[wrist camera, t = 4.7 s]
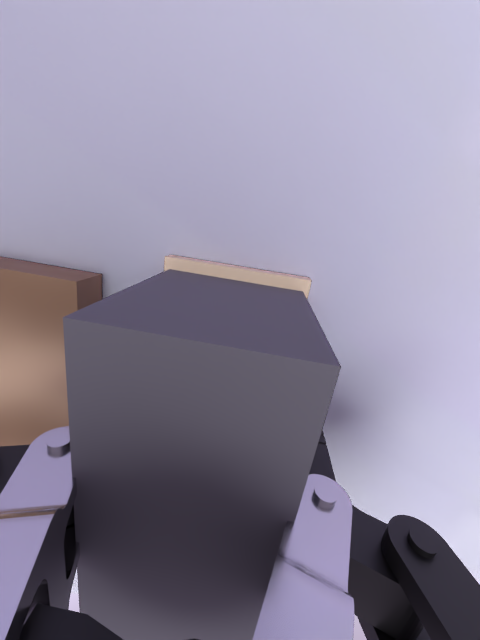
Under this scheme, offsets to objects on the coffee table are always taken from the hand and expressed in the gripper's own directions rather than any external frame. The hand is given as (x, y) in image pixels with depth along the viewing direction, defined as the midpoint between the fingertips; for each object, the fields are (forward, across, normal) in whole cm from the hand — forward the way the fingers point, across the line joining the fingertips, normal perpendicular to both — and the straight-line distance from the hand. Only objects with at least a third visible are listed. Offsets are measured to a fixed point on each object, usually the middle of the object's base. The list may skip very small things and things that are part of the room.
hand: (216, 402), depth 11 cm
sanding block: (+1, 0, 0) cm, 1 cm away
